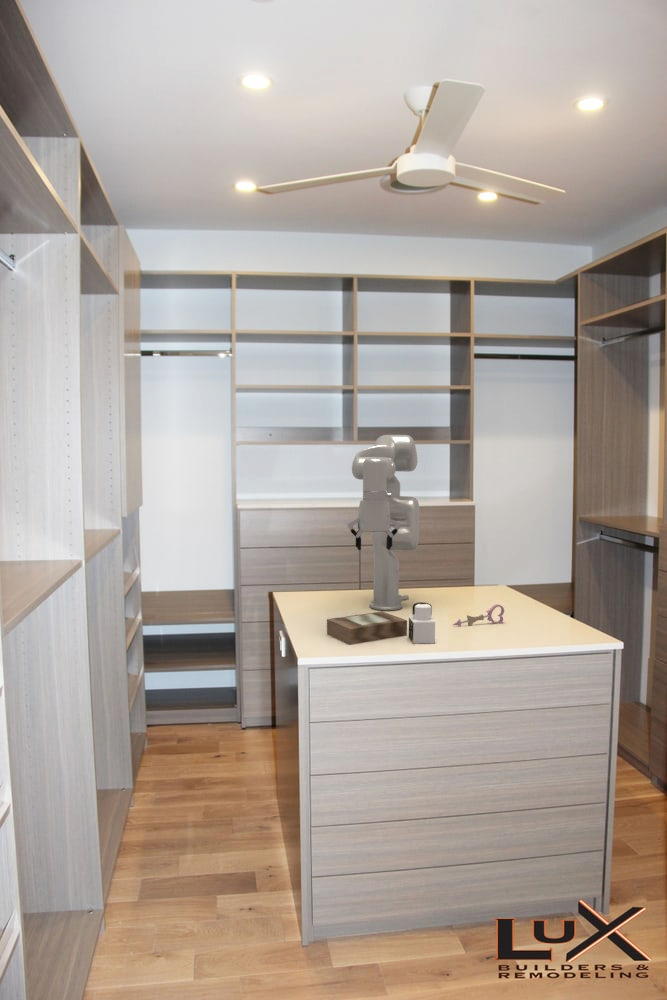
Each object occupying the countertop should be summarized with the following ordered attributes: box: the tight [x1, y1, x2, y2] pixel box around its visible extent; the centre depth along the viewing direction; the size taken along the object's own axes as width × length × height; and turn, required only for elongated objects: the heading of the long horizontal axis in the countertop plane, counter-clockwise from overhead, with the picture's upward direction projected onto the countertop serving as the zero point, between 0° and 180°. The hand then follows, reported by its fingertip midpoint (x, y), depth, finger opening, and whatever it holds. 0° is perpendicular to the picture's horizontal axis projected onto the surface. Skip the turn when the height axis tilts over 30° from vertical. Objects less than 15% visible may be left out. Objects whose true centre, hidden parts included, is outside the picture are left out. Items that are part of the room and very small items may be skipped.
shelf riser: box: [326, 610, 408, 645], centre depth 242 cm, size 22×14×5 cm, turn 121°
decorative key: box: [452, 603, 505, 627], centre depth 256 cm, size 7×1×20 cm
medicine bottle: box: [408, 601, 436, 645], centre depth 235 cm, size 7×7×12 cm
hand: (373, 549), depth 240 cm, fingers open, 9 cm apart
